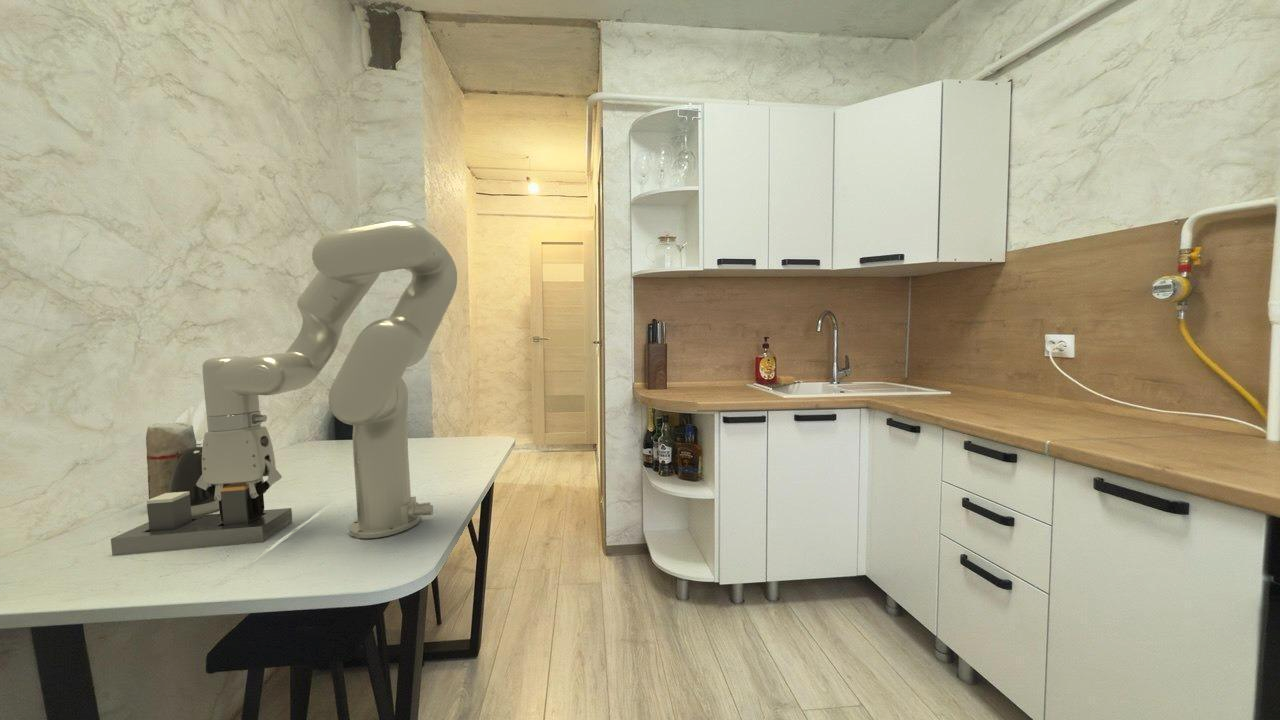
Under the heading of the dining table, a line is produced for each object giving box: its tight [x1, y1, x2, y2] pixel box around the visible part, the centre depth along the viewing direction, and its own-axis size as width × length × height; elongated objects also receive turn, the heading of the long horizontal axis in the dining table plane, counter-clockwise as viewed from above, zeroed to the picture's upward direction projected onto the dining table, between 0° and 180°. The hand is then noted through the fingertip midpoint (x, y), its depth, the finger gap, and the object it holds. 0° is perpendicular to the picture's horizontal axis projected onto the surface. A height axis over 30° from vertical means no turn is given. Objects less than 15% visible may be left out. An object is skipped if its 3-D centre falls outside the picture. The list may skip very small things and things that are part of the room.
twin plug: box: [146, 491, 192, 532], centre depth 87 cm, size 4×4×9 cm
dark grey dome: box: [168, 446, 220, 516], centre depth 102 cm, size 10×10×15 cm
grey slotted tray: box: [110, 507, 293, 556], centre depth 88 cm, size 24×9×4 cm, turn 98°
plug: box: [220, 483, 262, 526], centre depth 88 cm, size 4×4×9 cm
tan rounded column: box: [145, 422, 198, 500], centre depth 106 cm, size 8×8×20 cm
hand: (242, 516), depth 88 cm, fingers closed on plug, 3 cm apart
